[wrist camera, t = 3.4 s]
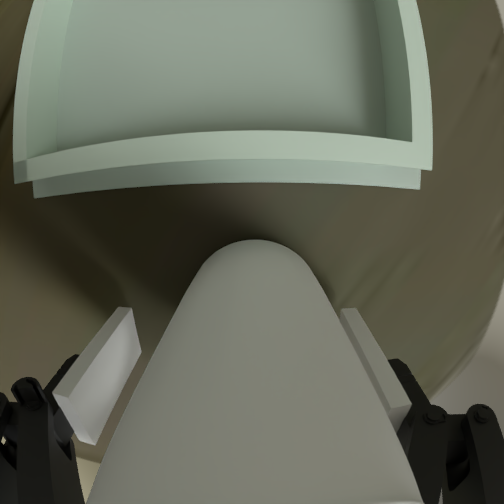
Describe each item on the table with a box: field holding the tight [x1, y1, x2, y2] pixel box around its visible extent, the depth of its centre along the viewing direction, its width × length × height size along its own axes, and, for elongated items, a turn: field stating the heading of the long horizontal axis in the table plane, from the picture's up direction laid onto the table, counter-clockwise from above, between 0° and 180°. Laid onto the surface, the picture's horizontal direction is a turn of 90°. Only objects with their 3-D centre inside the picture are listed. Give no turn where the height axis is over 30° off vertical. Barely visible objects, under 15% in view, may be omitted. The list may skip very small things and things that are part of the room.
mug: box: [86, 240, 424, 504], centre depth 9 cm, size 10×7×12 cm, turn 143°
